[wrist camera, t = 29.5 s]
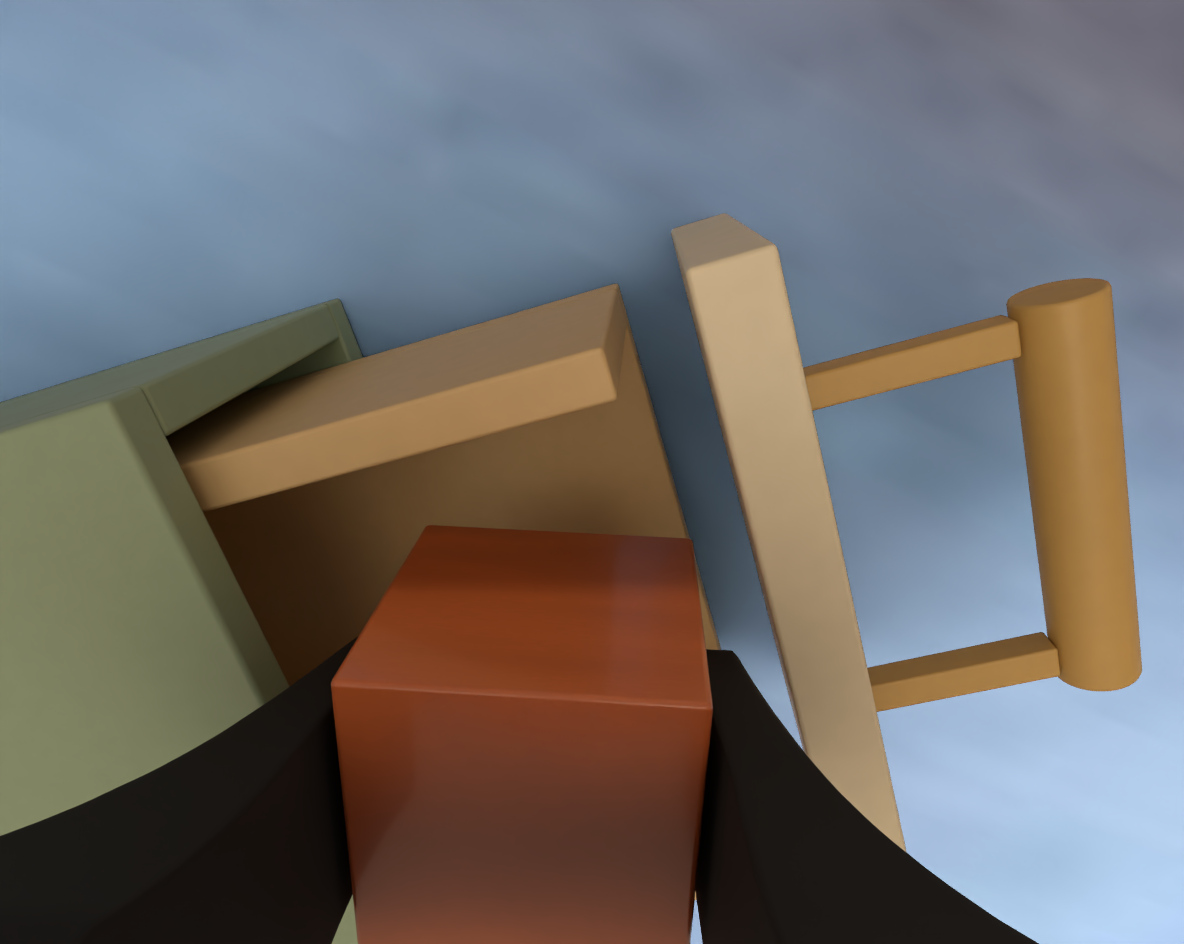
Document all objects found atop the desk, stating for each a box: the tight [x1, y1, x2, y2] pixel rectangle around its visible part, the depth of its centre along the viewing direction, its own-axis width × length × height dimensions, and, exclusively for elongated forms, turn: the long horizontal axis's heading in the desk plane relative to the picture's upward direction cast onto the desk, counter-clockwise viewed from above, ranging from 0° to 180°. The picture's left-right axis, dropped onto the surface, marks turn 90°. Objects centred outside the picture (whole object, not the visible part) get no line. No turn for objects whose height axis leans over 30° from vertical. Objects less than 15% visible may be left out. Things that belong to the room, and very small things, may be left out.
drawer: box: [166, 213, 1142, 900], centre depth 16 cm, size 19×11×7 cm, turn 107°
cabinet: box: [0, 299, 363, 944], centre depth 18 cm, size 16×13×9 cm
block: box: [331, 525, 713, 944], centre depth 12 cm, size 4×4×4 cm
